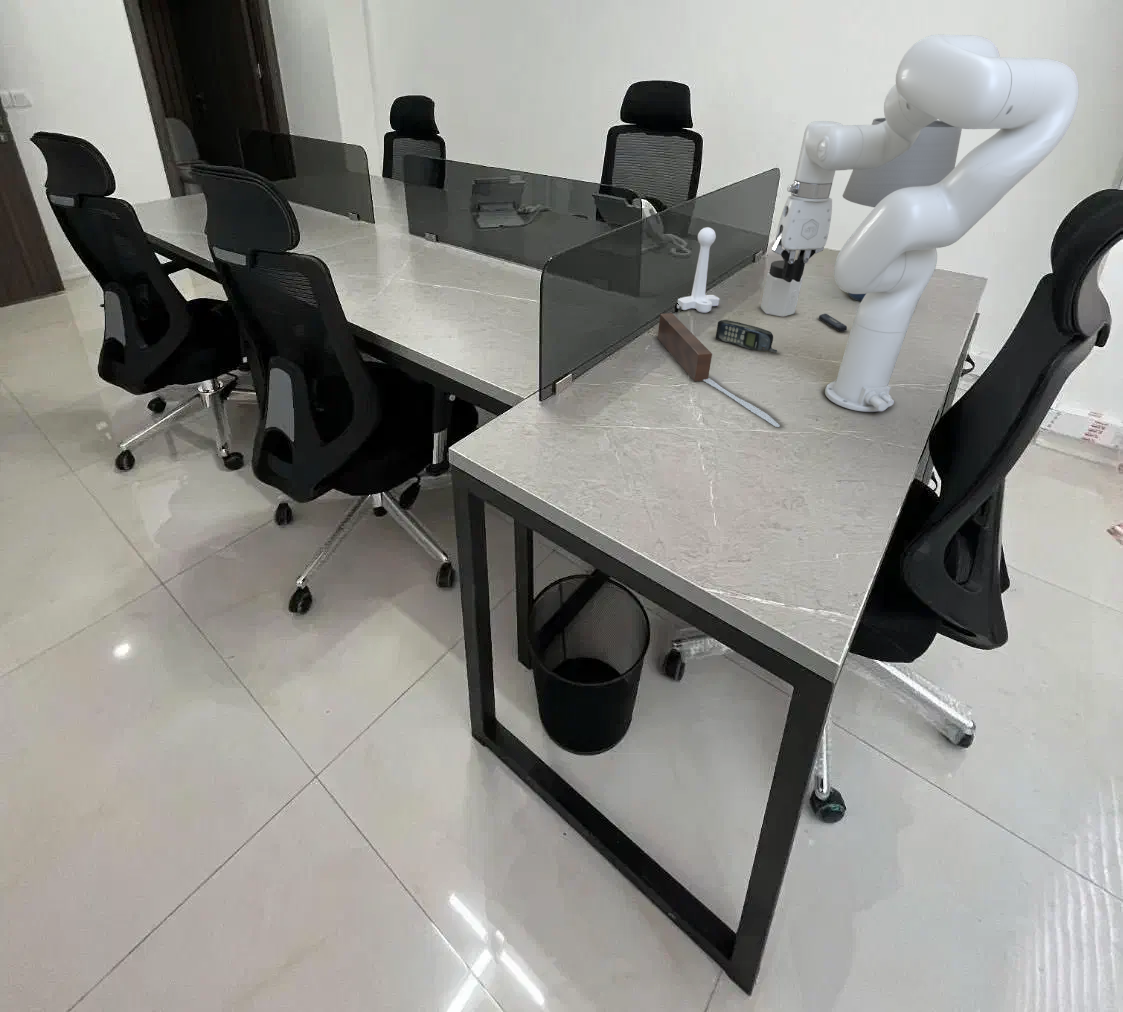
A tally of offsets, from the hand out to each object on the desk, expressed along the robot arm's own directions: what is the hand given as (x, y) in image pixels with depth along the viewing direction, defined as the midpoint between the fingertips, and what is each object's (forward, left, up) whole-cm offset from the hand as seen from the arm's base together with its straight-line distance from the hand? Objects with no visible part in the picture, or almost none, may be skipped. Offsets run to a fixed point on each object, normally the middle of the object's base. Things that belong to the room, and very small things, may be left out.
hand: (791, 279), depth 146 cm
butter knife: (-24, +22, -16) cm, 36 cm away
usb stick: (+9, -20, -15) cm, 27 cm away
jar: (+21, -11, -15) cm, 28 cm away
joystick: (+26, +9, -15) cm, 31 cm away
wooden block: (-4, +26, -15) cm, 30 cm away
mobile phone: (0, +8, -15) cm, 17 cm away
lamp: (+27, -41, -15) cm, 51 cm away
